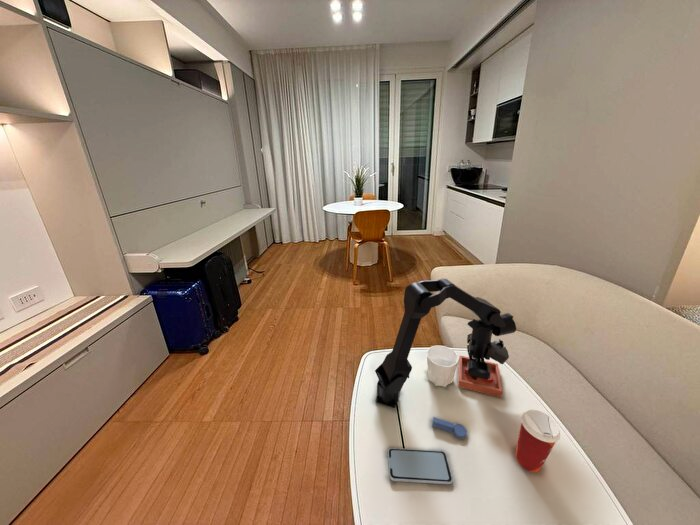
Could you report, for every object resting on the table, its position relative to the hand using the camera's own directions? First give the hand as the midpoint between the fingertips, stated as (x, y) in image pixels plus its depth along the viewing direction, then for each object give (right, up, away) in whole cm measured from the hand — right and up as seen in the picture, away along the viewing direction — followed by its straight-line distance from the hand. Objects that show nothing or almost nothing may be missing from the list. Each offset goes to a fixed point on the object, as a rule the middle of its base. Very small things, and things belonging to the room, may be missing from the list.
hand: (473, 373), depth 92 cm
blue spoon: (-15, -9, -17) cm, 24 cm away
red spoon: (+2, -1, 0) cm, 2 cm away
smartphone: (-26, -13, -25) cm, 38 cm away
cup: (-12, -2, +1) cm, 12 cm away
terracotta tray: (+1, -1, 0) cm, 2 cm away
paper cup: (+2, -12, -24) cm, 27 cm away
